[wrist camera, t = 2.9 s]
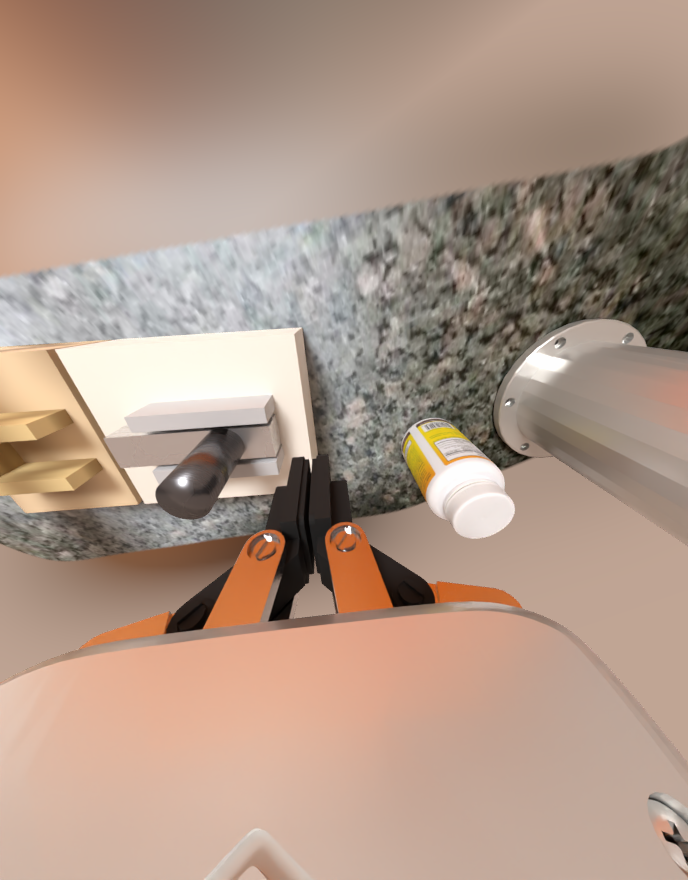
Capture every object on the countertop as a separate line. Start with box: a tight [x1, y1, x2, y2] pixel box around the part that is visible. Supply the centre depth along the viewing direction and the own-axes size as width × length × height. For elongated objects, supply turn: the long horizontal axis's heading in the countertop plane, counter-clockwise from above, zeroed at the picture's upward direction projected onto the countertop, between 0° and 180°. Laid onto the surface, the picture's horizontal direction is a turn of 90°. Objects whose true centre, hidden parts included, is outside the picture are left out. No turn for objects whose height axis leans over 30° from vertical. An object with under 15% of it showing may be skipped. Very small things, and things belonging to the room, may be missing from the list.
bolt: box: [103, 414, 281, 519], centre depth 14 cm, size 10×2×7 cm, turn 93°
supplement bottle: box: [401, 418, 515, 539], centre depth 20 cm, size 6×6×10 cm
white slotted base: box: [55, 328, 318, 504], centre depth 19 cm, size 14×12×7 cm
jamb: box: [0, 340, 142, 513], centre depth 18 cm, size 9×12×7 cm
